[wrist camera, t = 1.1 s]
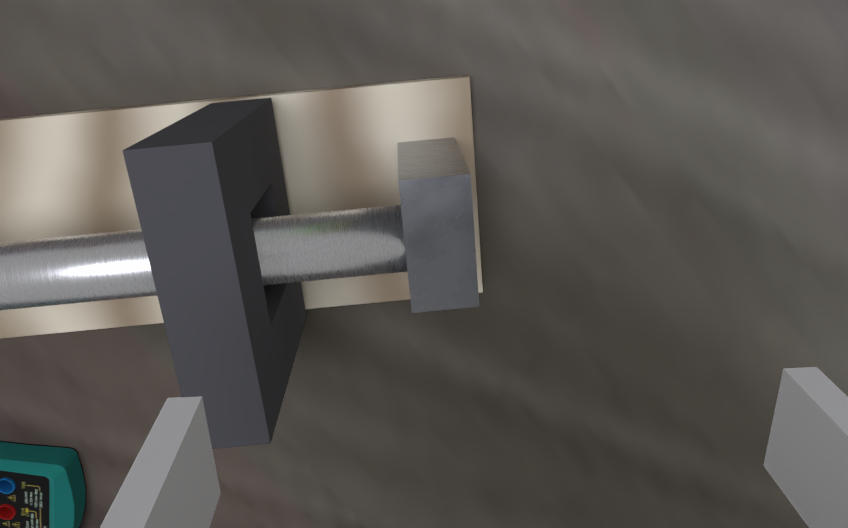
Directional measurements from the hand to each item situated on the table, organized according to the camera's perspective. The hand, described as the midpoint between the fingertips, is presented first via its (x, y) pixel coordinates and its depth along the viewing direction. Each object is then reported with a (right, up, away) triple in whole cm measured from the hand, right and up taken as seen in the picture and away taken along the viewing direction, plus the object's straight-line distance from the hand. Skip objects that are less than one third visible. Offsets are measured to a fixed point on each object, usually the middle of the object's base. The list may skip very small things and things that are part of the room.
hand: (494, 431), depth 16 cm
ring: (-10, +6, +21) cm, 24 cm away
